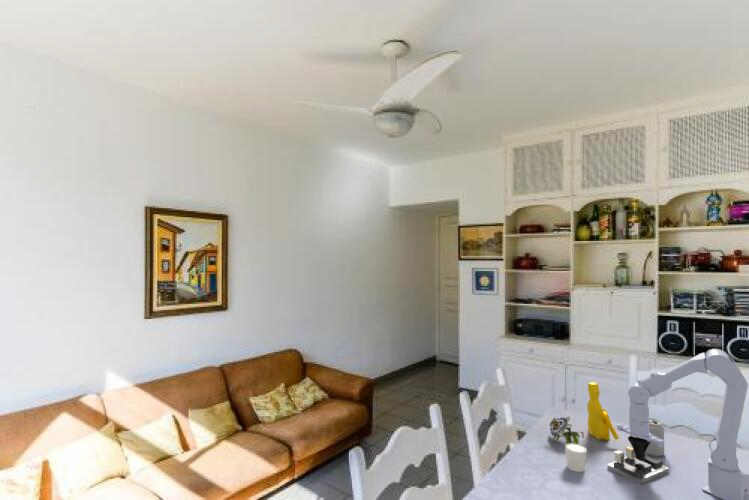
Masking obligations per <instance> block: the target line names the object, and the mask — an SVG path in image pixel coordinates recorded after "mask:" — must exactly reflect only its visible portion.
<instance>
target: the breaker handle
mask: <svg viewBox="0 0 749 500" xmlns="http://www.w3.org/2000/svg"><path fill="white" fill-rule="evenodd" d="M625 457H627V458H629V459H631V460H632V459H634V458H635V453H634V450H633V447H632V446H626V447H625Z"/></svg>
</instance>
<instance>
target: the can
mask: <svg viewBox="0 0 749 500" xmlns="http://www.w3.org/2000/svg"><path fill="white" fill-rule="evenodd" d="M662 423H663V422H662V421H660V420H658V419H656V418H653V417H649V433H651V434H653V435H654V436H656V437H658V438H660V439H662V440H664V441H665V426H663V424H662ZM646 454H647V455H649V456H652V457H661V456H663V455H665V445H664V446H663V447H658V446H657V445H656V444H653V443H650V444H649V446H648V448H647V449H646Z"/></svg>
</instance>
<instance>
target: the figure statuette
mask: <svg viewBox="0 0 749 500" xmlns="http://www.w3.org/2000/svg"><path fill="white" fill-rule="evenodd" d="M587 385H588V386H587V391H588V394H589V395H588V396H589V400H588V402H587V403H586V404H587V407H586V409H587V413H588V418H587V429H588V433H589V434H590V435H591V436H592V437H594V438H596V439H597V440H598V441H602V440H605V441H606V440H607V441H609V440H610V432H611V435H612V436H613V439H614V440H619V439H620V437H619V435H618V433H617V431H616V429H615V428H614V426H613V424H612V421H611V419H610V416H609V413H608V412H607V411H606V409H604V407H602V405H601V403H600V399H599V397H600V388H599V385H598V383H596V382H588V384H587Z"/></svg>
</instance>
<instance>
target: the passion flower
mask: <svg viewBox="0 0 749 500" xmlns="http://www.w3.org/2000/svg"><path fill="white" fill-rule="evenodd" d="M569 422H570V416H566V417H558V418H557V417H553V419H551V421H550V422H549V427H550V428H549V430H550V434H551V436H552V439H551V441H555V442H556V441H558V440H559V439H560V438H563V437H564V439H565V441H566V444H570V443H573V444H579V443H580V441H579V440H580V439H579V438H582V439H585V437H584V435H585V434H584V431H580V433H581V435H580V434H579V432H578V431H572V429H571V428H572V426H573V425H572V424H571V423H569ZM581 436H582V437H581Z"/></svg>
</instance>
